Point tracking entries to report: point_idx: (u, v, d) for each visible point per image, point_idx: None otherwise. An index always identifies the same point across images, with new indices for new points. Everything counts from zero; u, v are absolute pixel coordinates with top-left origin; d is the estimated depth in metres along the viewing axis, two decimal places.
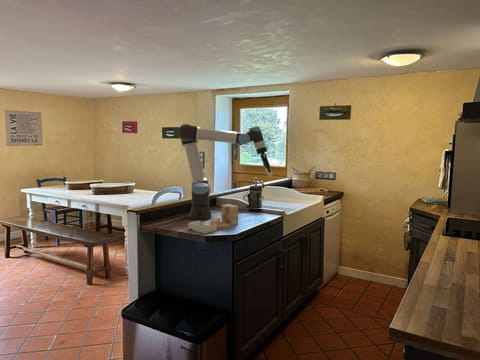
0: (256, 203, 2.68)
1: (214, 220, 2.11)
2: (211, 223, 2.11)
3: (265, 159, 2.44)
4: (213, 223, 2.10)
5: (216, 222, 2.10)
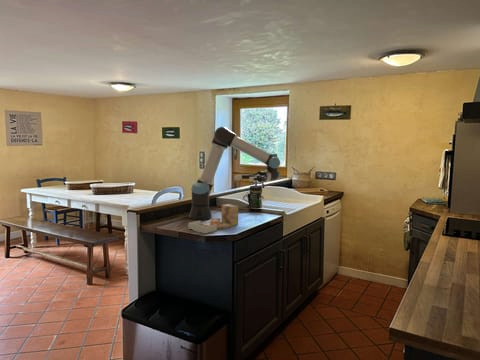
0: (256, 203, 2.68)
1: (214, 220, 2.11)
2: (211, 223, 2.11)
3: (263, 177, 2.34)
4: (213, 223, 2.10)
5: (216, 222, 2.10)
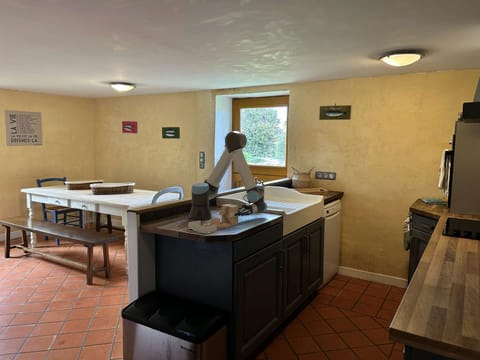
0: None
1: (214, 220, 2.11)
2: (211, 223, 2.11)
3: (247, 212, 2.24)
4: (213, 223, 2.10)
5: (216, 222, 2.10)
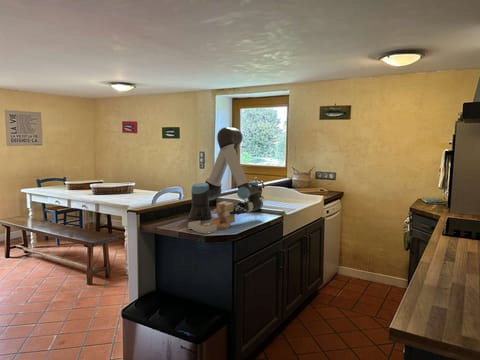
0: None
1: (214, 220, 2.11)
2: (211, 223, 2.11)
3: (242, 210, 2.20)
4: (213, 223, 2.10)
5: (216, 222, 2.10)
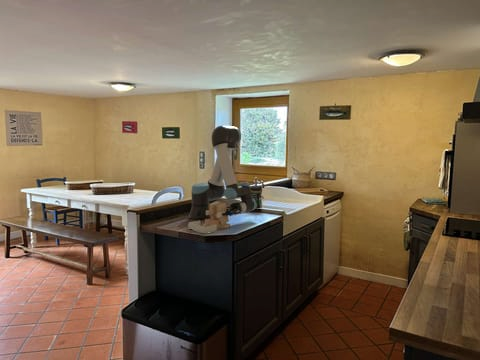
0: None
1: (214, 220, 2.11)
2: (210, 223, 2.11)
3: (235, 211, 2.15)
4: (213, 223, 2.09)
5: (216, 222, 2.10)
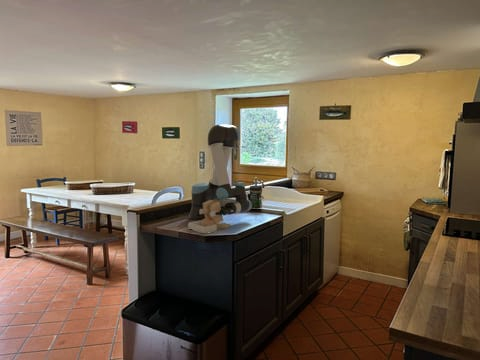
0: (256, 203, 2.68)
1: (209, 221, 2.09)
2: (206, 225, 2.09)
3: (229, 211, 2.13)
4: (208, 225, 2.08)
5: (211, 223, 2.08)
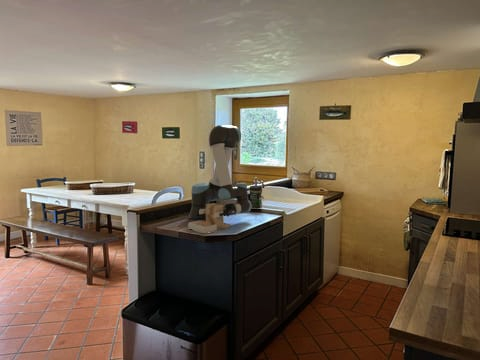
0: (256, 203, 2.68)
1: None
2: None
3: (231, 212, 2.13)
4: None
5: None
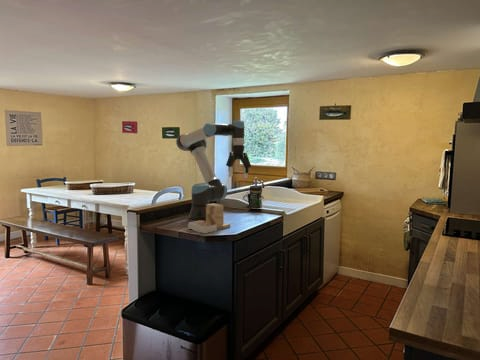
0: (256, 203, 2.68)
1: None
2: None
3: None
4: None
5: None
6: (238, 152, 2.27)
